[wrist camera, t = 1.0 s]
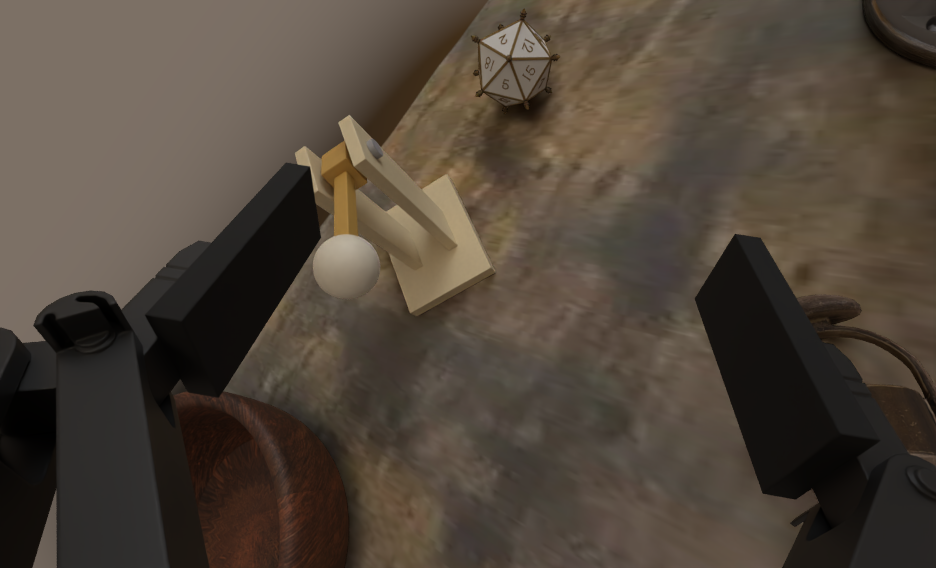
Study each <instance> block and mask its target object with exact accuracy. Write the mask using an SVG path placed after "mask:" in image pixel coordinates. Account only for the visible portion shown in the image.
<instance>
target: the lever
mask: <svg viewBox="0 0 936 568" xmlns="http://www.w3.org/2000/svg"><path fill="white" fill-rule="evenodd" d="M321 175H322V176H323V177H324V178H325V179H326V181H327V182H328V183H329V184H330V185H331V186H332V187H333V188H334V237H332V238H330V239H328V240H327V241H325V242H324V243H323V244H322V245H321V246H320V247H319V249H318V250H317V252H316V254H315V257H314V260H313V272H314V277H315V279H316V281H317V283H318V285H319V286H320V287H321V288H322V289H323V290H324V291H325V292H326V293H328V294H329V295H331V296H333V297H335V298H339V299H355V298H358V297H361V296H363V295H365V294H366V293H368V292H369V291H370V290H371V289H372V288H373V287H374V285H375V284H376V282H377V280H378V277H379V274H380V261H379V257H378V254H377V252H376V251H375V249H374V248H373V246H372V245H371V244H370V243H369V242H367V241H366V240H364V239H363V238H361V237H358V223H357V207H356V191H355V190H357V189H358V188H360V187H361V186H363V185H365V184H366V183H367V178H366V177H365V176H364V175H363V174H362V173H361V172H359V171H358V170H357V169H356V168H355V167H354V166H353V163H352V160H351V157H350V154H349V151H348V149H347V146H346V143H345V141H343V142H342V143H340V144H339V145H337V146H336V147H335V148H333V149H332V150H330V151H329V152H327V153H326V154H324V155H323V156H322V165H321Z"/></svg>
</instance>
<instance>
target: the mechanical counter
mask: <svg viewBox="0 0 936 568" xmlns="http://www.w3.org/2000/svg"><path fill="white" fill-rule="evenodd" d="M796 299H797V300H798V302H799V304H800V305H801V307H802V309H803V310H804V312H805V314H806V315H807V317H808V319H809V320H810V322H811V324H812V326H813V327H814V329H815V331H816V332H817V334H818V336H819V337H820V339H824V338H835V337H844V338H854V339H858V340H863V341H866V342H869V343H872V344H875V345H877V346H879V347H881V348H883V349H884V350H886V351H888V352H890V353H891V354H892V355H894V356H895V357H896V358H898V359H899V360H901V361H902V362H903V363H904V364H905V365H906V366H907V367H908V368H909V369H910V370H911V372H912V374H913V376H914V377H915V379H916V381H917V383H918V384H919V386H920V388H921V389H922V392H923V394H924V396H925V398H922V397H921V395H920V394H919V393H918V392H916V391H915V390H912V389H909V388H907V387H902V386H895V385H877V384H866V386H867V387H868V389H869V391H870V392H871V394H872V395H871V398H874V399H875V400H876V402H877V403H878V405H879V407H880V408H881V410H882V411H883V413H884V414H885V416H886V418H887V419H888V421H889V422H890V424H891V426H892V427H893V429H894V430H895V432H896V434H897V435H898V437H899V438H900V440H901V441H902V443H903V445H904V446H905V448H906V449H907V451H908V453H909V454H911V455H914V456H918V457H920V458H922V459H924V460H926V461H928V462H930V463H932V464H934V465H935V466H936V387H935V385H934V383H933V381H932V379H931V377H930V375H929V374H928V373H927V371H926V370H925V368H924V367H923V366H922V364H921V363H920V362H919V360H918V359H917V358H916V357H915V356H913V355H912V354H911V353H909V352H908V351H907V350H905V349H904V348H903V347H901V346H899V345H898V344H896V343H894V342H893V341H891V340H890V339H888V338H886V337H883V336H881V335H879V334H876V333H873V332H871V331H868V330H863V329H859V328H854V327H843V326H834V325H832V324H836V323H840V322H843V321H846V320H849V319H852V318H854V317H856V316H858V315H860V313H861V311H862V310H861V307H860V305H859V304H858V303H857V302H856V301H855V300H853V299H849V298H846V297H842V296H836V295H811V296H804V297H799V298H796ZM812 489H813V488H812Z"/></svg>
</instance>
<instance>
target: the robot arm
mask: <svg viewBox="0 0 936 568" xmlns="http://www.w3.org/2000/svg"><path fill="white" fill-rule="evenodd" d="M863 7H864V14H865V18H866V20H867V23H868V25H869V27H870V28H871V30H872V32H873V33H874V34H875V35H876V37H877V38H878V39H879V40H880V41H881V42H882V43H883V44H885V45H886V46H887V47H889V48H890V49H891V50H893V51H895V52H896V53H898V54H900V55H902V56H904V57H906V58H908V59H910V60H913V61H915V62H918V63H921V64H924V65H928V66H931V67H936V0H863ZM320 238H321V235H320V229H319V222H318V215H317V209H316V202H315V195H314V189H313V182H312V176H311V169H310V166H304V165H298V164H291V163H285V164H284V165H283V167H282V168H281V169H280V170H279V171H278V172H277V173H276V174H275V175H274V176H273V177H272V178H271V179H270V181H269V182H268V183H267V184H266V185H265V186H264V187H263V188H262V189H261V190H260V191H259V192H258V194H256V196H255V197H254V198H253V199H252V200H251V201H250V202H249V203H248V204H247V205H246V206H245V207H244V208H243V210H242V211H241V212H240V213H239V214H238V215H237V216H236V217H235V218H234V219H233V220H232V221H231V223H230V224H229V225H228V226H227V227H226V228H225V229H224V230H223V231H222V232H221V233H220V234H219V235H218V236H217V238H216V239H215V240H214V241H213V242H212V243H210V242H203V241H197V242H195V243H194V244H192V245H190V246H188V247H187V248H185V249H183V250H181V251H179V252H178V253H177V254H176V255H175V256H174V257H173V258H172V259H171V260H170V262H169V263H167V264H166V265H167V266H166V267H164V268H162V269H161V270H160V271H159V272H158V273H157V275H156V278H153V279H151V280H150V281H149V282H148V283H147V284H146V285H145V286H144V288H142V290H141V291H140V292H139V293H138V294H137V295H136V296H135V297H134V298H133V299H132V300H131V301H130V302H129V303H128V304H127V305H126V306H125V307H124V308H123V309H122V310H121V309H120V307H119V306H118V304H117V302H116V301H115V299H114V297H113V296H112V295H110V294H107V293H105V292H102V291H86V292H78V293H74V294H71V295H69V296H65V297H63V298H60V299H58V300H56V301H55V302H53V303H51V304H50V305H48V306H46V308H44V309H43V310H42V312H40V314H39V315H37V317H36V320H35V323H34V327H35V328H36V329H37V330H38V332H39V333H40V334H41V335H42V336H43V338H44V339H45V340H46V341H41V342H30V343H22V342H21V341H20V340H19V339H18V337H17V336H16V335H15V334H14V333H13V332H12V331H11V330H7V329H4V328H0V568H32V567H33V563H34V560H35V557H36V554H37V550H38V547H39V544H40V540H41V537H42V534H43V530H44V527H45V524H46V521H47V517H48V514H49V511H50V507H51V504H52V501H53V497H54V494H55V491H56V488H57V568H210V567H209V562H208V557H207V552H206V548H205V543H204V538H203V533H202V528H201V523H200V519H199V514H198V509H197V504H196V499H195V494H194V490H193V485H192V480H191V475H190V470H189V465H188V460H187V456H186V451H185V446H184V441H183V436H182V431H181V427H180V422H179V417H178V412H177V407H176V402H175V398H174V396H173V395H172V393H171V390H172V389H173V388H174V386H175V385H176V384H177V382H178V381H179V380H180V379H181V380H182V382H183V384H184V386H185V388H186V389H187V391H188V393H193V394H199V395H205V396H210V397H216V398H219V397H220V395H221V394H222V392H223V390H224V389H225V387H226V386H227V384H228V383H229V381H230V379H231V378H232V376H233V375H234V373H235V372H236V370H237V369H238V367H239V365H240V364H241V362H242V361H243V359H244V358H245V356H246V354H247V353H248V351H249V350H250V348H251V347H252V345H253V343H254V342H255V340H256V339H257V337H258V336H259V334H260V332H261V331H262V329H263V328H264V326H265V325H266V323H267V321H268V320H269V318H270V317H271V315H272V314H273V312H274V310H275V309H276V307H277V306H278V304H279V303H280V301H281V299H282V298H283V296H284V295H285V293H286V292H287V290H288V288H289V287H290V285H291V284H292V282H293V281H294V279H295V277H296V276H297V274H298V273H299V271H300V270H301V268H302V266H303V265H304V263H305V262H306V260H307V259H308V257H309V256H310V254H311V252H312V251H313V249H314V248H315V246H316V245H317V243H318V241H319V240H320ZM695 301H696V304H697V307H698V310H699V312H700V315H701V318H702V321H703V324H704V327H705V330H706V333H707V335H708V338H709V341H710V344H711V347H712V350H713V353H714V355H715V358H716V361H717V364H718V367H719V370H720V373H721V375H722V378H723V381H724V384H725V387H726V390H727V393H728V395H729V398H730V401H731V404H732V407H733V410H734V413H735V415H736V418H737V421H738V424H739V427H740V430H741V433H742V435H743V438H744V441H745V444H746V447H747V450H748V453H749V456H750V458H751V461H752V464H753V467H754V470H755V473H756V476H757V478H758V481H759V484H760V487H761V490H762V493H763V494H768V495H773V496H779V497H785V498H790V499H797V498H799V497H800V496H802V495H803V494H805V493H806V492H807V491H809V490H810V489H812V488H813V490H814V492H815V495H816V497H817V499H818V501H819V503H818V504H816V505H815V506H813V507H812V508H810V509H809V510H807V511H806V512H804V513H802V514H801V515H799V516H798V517H796V518H795V519H794V520H793V521H792V522H791V523H790V524H792V525H793V526H794V527H796V526H797V525H799V524H801V523H802V522H804V524H803V526H802V528H801V530H800V532H799V534H798V536H797V538H796V540H795V542H794V544H793V546H792V548H791V550H790V553H789V555H788V557H787V559H786V561H785V563H784V565H783V567H782V568H936V466H935V465H934V464H932V463H930V462H928V461H926V460H924V459H922V458H920V457H918V456H914V455H911V454H909V453H908V451H907V449H906V448H905V446H904V445H903V443H902V441H901V440H900V438H899V437H898V435H897V434H896V432H895V430H894V429H893V427H892V426H891V424H890V422H889V421H888V419H887V418H886V416H885V414H884V413H883V411H882V410H881V408H880V407H879V405H878V403H877V402H876V400H875V399H874V398H871V395H872V394H871V392H870V391H869V389H868V387H867V386H866V384H865V383H862V378H861V376H860V375H859V373H858V372H857V370H856V368H855V367H854V365H853V364H852V362H851V361H850V360H849V359H848V358H847V357H846V356H845V355H844V354H843V353H842V352H841V351H840V350H839V349H837V348H836V347H835V346H834V345H833V344H829V343H823V342H822V341H821V339H820V337H819V336H818V334H817V332H816V331H815V329H814V327H813V326H812V324H811V322H810V320H809V319H808V317H807V315H806V314H805V312H804V310H803V309H802V307H801V305H800V304H799V302H798V300H797V299H796V297H795V295H794V294H793V292H792V290H791V288H790V287H789V285H788V283H787V282H786V280H785V278H784V277H783V275H782V273H781V272H780V270H779V268H778V267H777V265H776V263H775V261H774V260H773V258H772V256H771V255H770V253H769V251H768V250H767V248H766V246H765V245H764V243H763V241H762V240H761V238H758V237H751V236H745V235H739V234H735V235H734V236H733V238H732V240H731V241H730V243H729V244H728V246H727V248H726V249H725V251H724V252H723V254H722V256H721V257H720V259H719V260H718V262H717V264H716V265H715V267H714V269H713V270H712V272H711V273H710V275H709V277H708V278H707V280H706V281H705V283H704V285H703V286H702V288H701V289H700V291H699V293H698V294H697V296H696V298H695Z"/></svg>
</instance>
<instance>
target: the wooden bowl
mask: <svg viewBox="0 0 936 568" xmlns="http://www.w3.org/2000/svg"><path fill="white" fill-rule="evenodd" d="M173 396H174V398H175V402H176V407H177V412H178V417H179V422H180V427H181V431H182V436H183V441H184V446H185V451H186V456H187V460H188V465H189V470H190V475H191V480H192V485H193V490H194V494H195V499H196V504H197V509H198V514H199V519H200V523H201V528H202V533H203V538H204V543H205V548H206V552H207V557H208V562H209V567H210V568H345V563H346V557H347V550H348V540H349V516H348V506H347V500H346V495H345V490H344V486H343V483H342V480H341V477H340V474H339V471H338V469H337V467H336V465H335V463H334V461H333V459H332V457H331V456H330V454H329V452H328V451H327V449H326V447H325V446H324V445H323V443H322V442H321V441H320V439H319V438H318V437H317V436H316V435H315V434H314V433H313V432H312V431H311V430H310V429H309V428H308V427H307V426H305V425H304V424H303V423H302V422H301V421H299V420H298V419H296V418H294V417H293V416H291V415H290V414H288V413H286V412H284V411H282V410H280V409H278V408H276V407H274V406H271V405H269V404H266V403H263V402H260V401H257V400H254V399H250V398H247V397H243V396H240V395H236V394H232V393H228V392H222V394H221V395H220V397H219V398H216V397H210V396H205V395H199V394H193V393H188V392H183V393H179V394H176V395H173Z"/></svg>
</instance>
